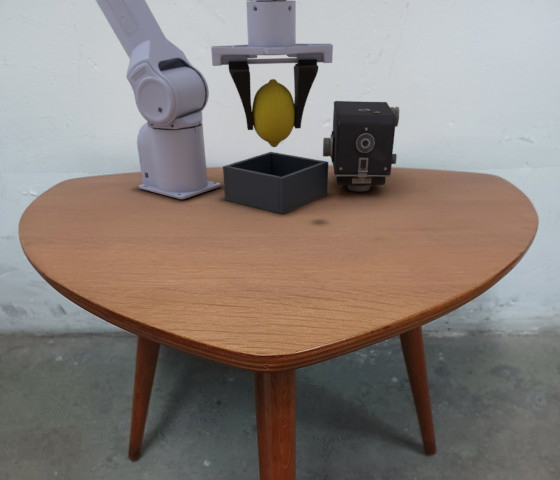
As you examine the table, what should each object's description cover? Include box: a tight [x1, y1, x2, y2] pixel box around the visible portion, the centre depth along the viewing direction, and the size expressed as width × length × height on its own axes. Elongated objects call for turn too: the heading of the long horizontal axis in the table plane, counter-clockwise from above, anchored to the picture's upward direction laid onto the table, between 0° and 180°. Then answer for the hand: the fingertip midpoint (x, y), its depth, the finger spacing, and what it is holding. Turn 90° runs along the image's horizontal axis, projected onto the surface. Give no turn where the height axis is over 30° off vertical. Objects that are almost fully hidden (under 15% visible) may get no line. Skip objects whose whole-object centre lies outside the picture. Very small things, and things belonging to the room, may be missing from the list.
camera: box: [322, 100, 400, 192], centre depth 79 cm, size 11×11×15 cm
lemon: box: [251, 78, 295, 148], centre depth 71 cm, size 6×6×8 cm
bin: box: [222, 151, 329, 215], centre depth 76 cm, size 10×10×4 cm
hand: (273, 127), depth 71 cm, fingers closed on lemon, 5 cm apart
